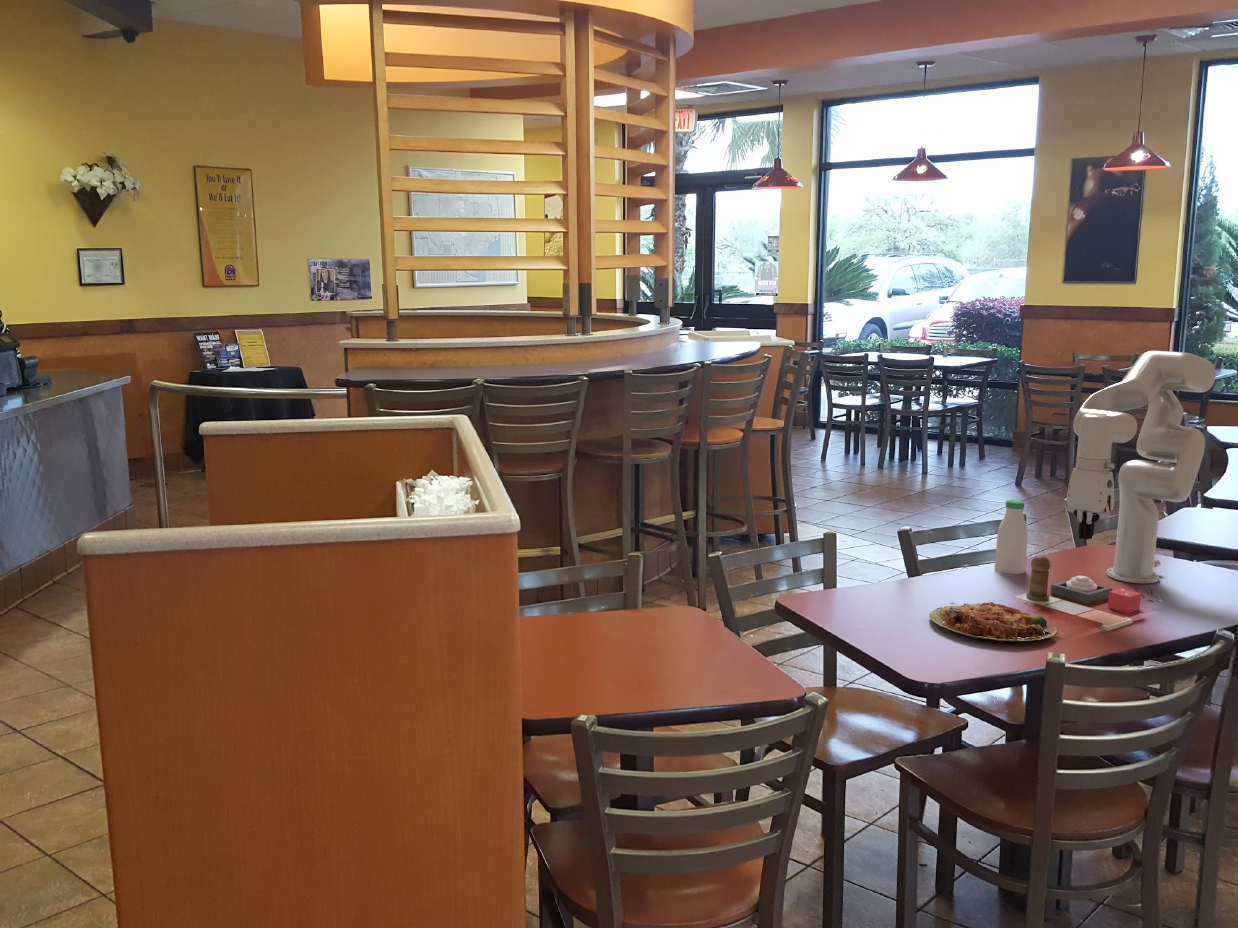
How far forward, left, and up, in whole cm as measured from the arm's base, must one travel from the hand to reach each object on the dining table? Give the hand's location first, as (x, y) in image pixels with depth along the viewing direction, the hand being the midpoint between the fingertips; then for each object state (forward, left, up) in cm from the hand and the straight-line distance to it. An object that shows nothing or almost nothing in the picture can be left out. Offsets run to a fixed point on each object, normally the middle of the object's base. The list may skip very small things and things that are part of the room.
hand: (1085, 538), depth 260 cm
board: (+11, +4, -16) cm, 19 cm away
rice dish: (+36, +1, -16) cm, 39 cm away
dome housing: (0, 0, -16) cm, 16 cm away
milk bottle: (-5, -24, -16) cm, 29 cm away
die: (0, +11, -16) cm, 19 cm away
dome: (0, 0, -13) cm, 13 cm away
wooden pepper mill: (+11, -5, -15) cm, 19 cm away
